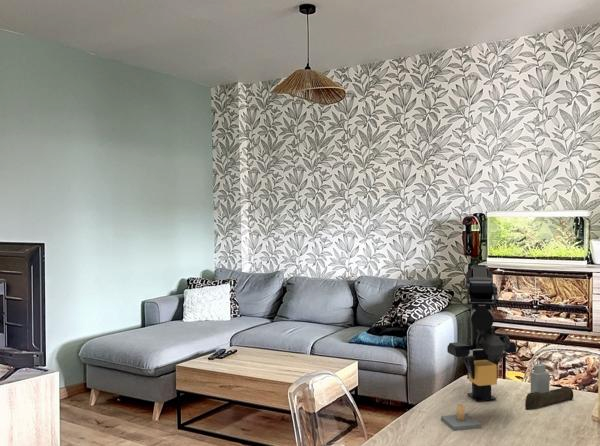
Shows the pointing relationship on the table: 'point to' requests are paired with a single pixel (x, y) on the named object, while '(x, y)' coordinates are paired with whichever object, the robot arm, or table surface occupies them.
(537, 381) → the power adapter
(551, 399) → the hand tool
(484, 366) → the orange foam cube
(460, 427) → the grey base with peg
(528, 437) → the table surface
